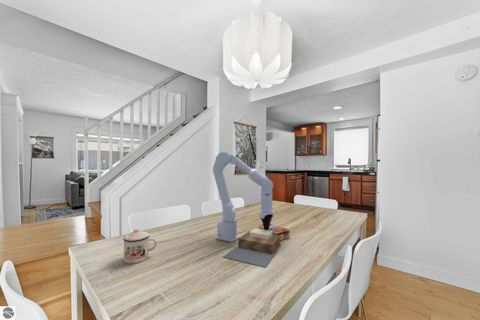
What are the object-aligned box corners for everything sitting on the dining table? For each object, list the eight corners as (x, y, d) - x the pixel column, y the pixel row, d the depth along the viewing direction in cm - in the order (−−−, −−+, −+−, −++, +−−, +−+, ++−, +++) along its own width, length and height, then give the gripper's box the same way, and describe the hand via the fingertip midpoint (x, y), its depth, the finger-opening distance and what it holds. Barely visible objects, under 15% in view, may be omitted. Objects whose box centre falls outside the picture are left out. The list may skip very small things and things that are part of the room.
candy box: (276, 232, 100) (257, 225, 113) (277, 241, 100) (258, 233, 113) (289, 229, 105) (270, 222, 118) (290, 237, 105) (270, 230, 117)
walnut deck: (238, 247, 92) (238, 238, 92) (248, 238, 103) (249, 230, 103) (272, 254, 85) (272, 245, 85) (280, 244, 96) (280, 235, 96)
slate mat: (223, 257, 82) (223, 256, 82) (235, 247, 92) (235, 246, 92) (265, 267, 74) (265, 266, 74) (274, 255, 84) (274, 254, 84)
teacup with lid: (121, 266, 75) (121, 234, 75) (125, 255, 83) (125, 227, 83) (156, 260, 79) (156, 230, 79) (156, 251, 88) (157, 224, 88)
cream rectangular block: (249, 236, 95) (249, 232, 95) (254, 232, 100) (254, 228, 100) (268, 239, 91) (268, 235, 91) (272, 235, 96) (272, 231, 96)
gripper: (269, 205, 95) (269, 235, 94) (278, 200, 108) (278, 226, 107) (255, 204, 98) (255, 232, 97) (265, 199, 111) (265, 224, 110)
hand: (266, 229), depth 103 cm, fingers closed
